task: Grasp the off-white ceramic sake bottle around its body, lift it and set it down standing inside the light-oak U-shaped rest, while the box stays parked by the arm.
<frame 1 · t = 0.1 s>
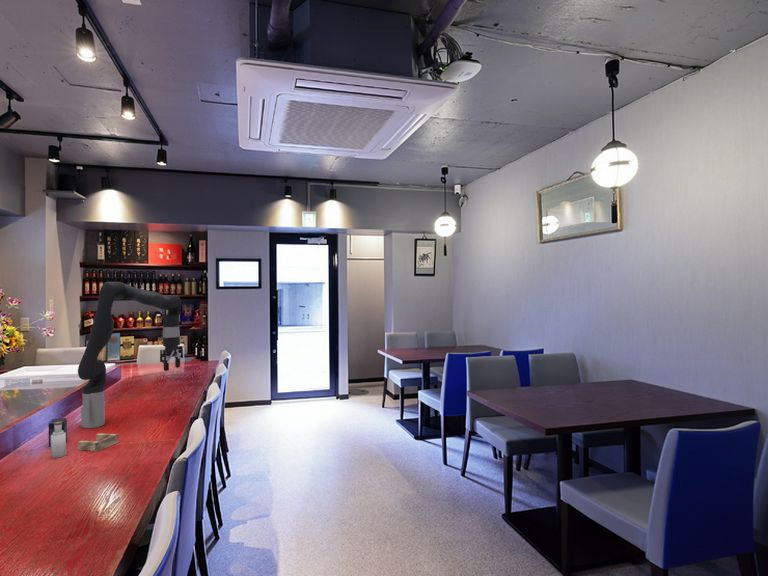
hand: (172, 369, 218), 29 cm above the bar counter, fingers open, 8 cm apart
bottle: (58, 455, 185), on the bar counter
box: (58, 443, 201), on the bar counter
rest: (98, 446, 196), on the bar counter
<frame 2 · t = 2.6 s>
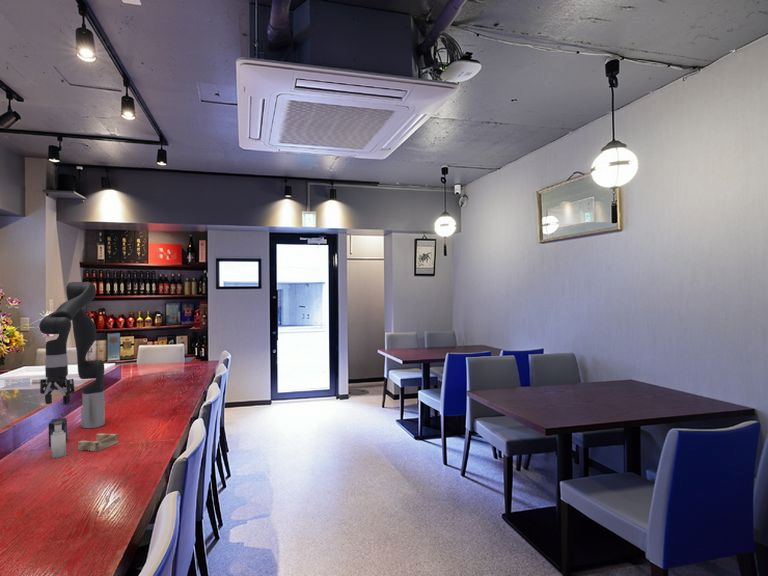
hand: (57, 404, 185), 22 cm above the bar counter, fingers open, 8 cm apart
nothing on the bar counter moved.
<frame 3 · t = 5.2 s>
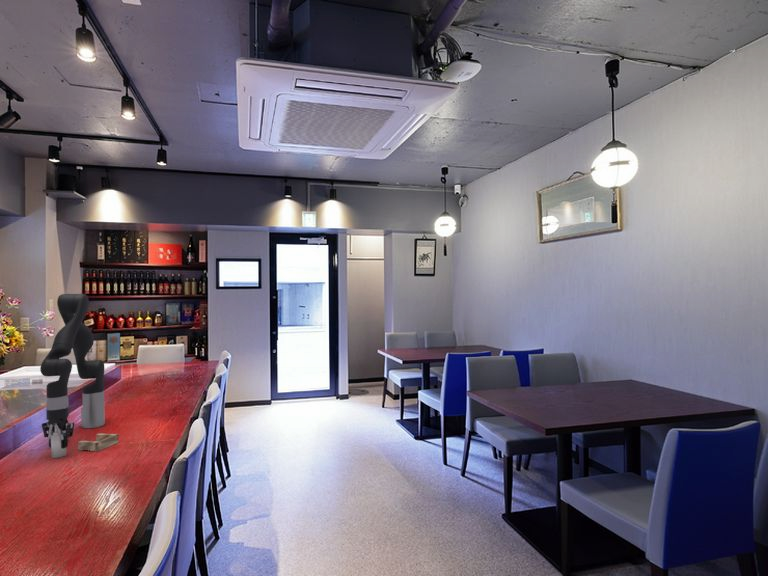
hand: (58, 447, 185), 3 cm above the bar counter, fingers closed on bottle, 5 cm apart
bottle: (58, 455, 185), on the bar counter, touching gripper
everything else where it was.
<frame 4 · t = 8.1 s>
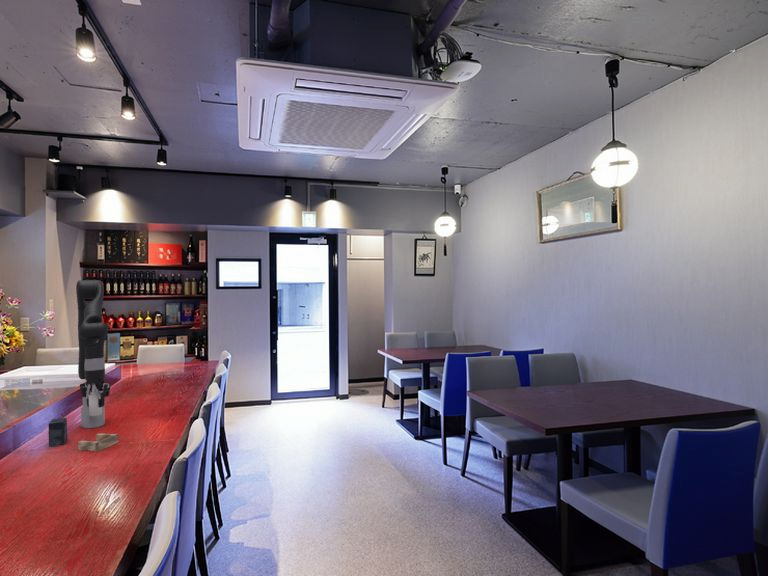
hand: (95, 406, 196), 17 cm above the bar counter, fingers closed on bottle, 5 cm apart
bottle: (95, 414, 196), point 14 cm above the bar counter, touching gripper
everything else where it was.
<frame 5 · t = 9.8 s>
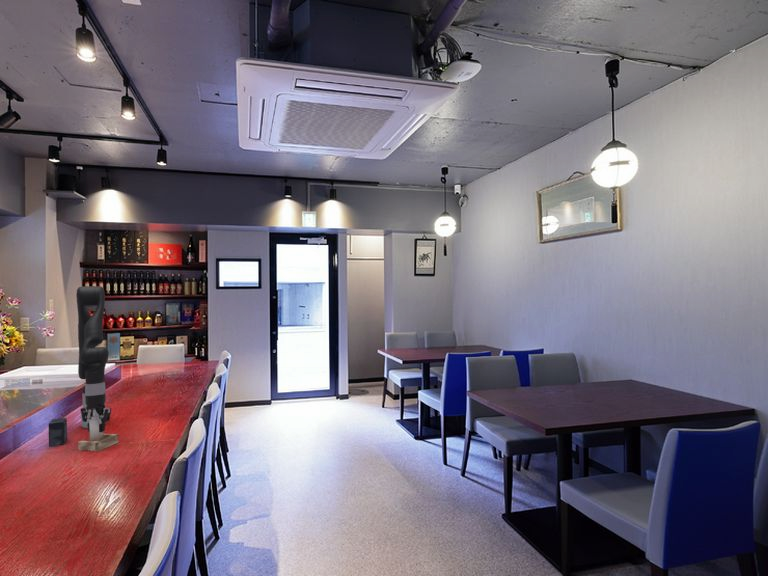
hand: (96, 431, 196), 6 cm above the bar counter, fingers closed on bottle, 5 cm apart
bottle: (96, 439, 196), point 3 cm above the bar counter, touching gripper
everything else where it was.
when the fingers open (6 cm above the bar counter, at t = 10.9 s): bottle drops 1 cm, resting on rest.
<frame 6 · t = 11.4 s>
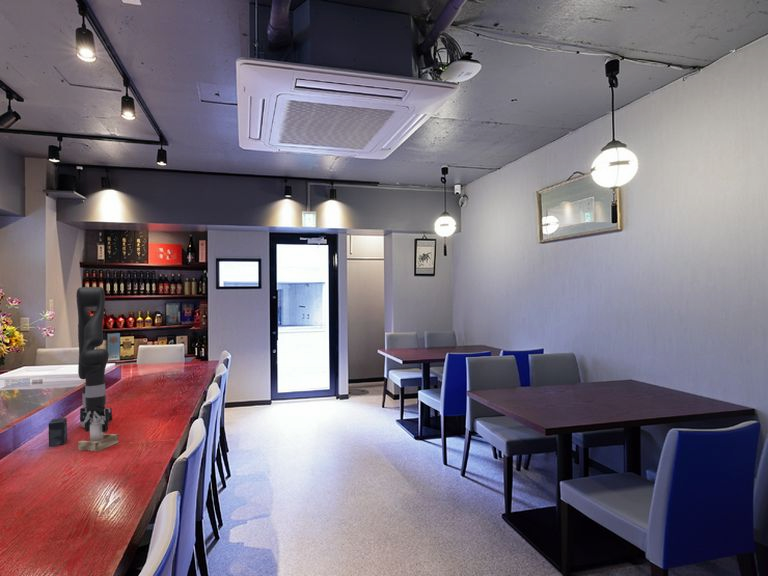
hand: (96, 431, 196), 6 cm above the bar counter, fingers open, 8 cm apart
bottle: (96, 444, 196), point 1 cm above the bar counter, touching rest
everything else where it was.
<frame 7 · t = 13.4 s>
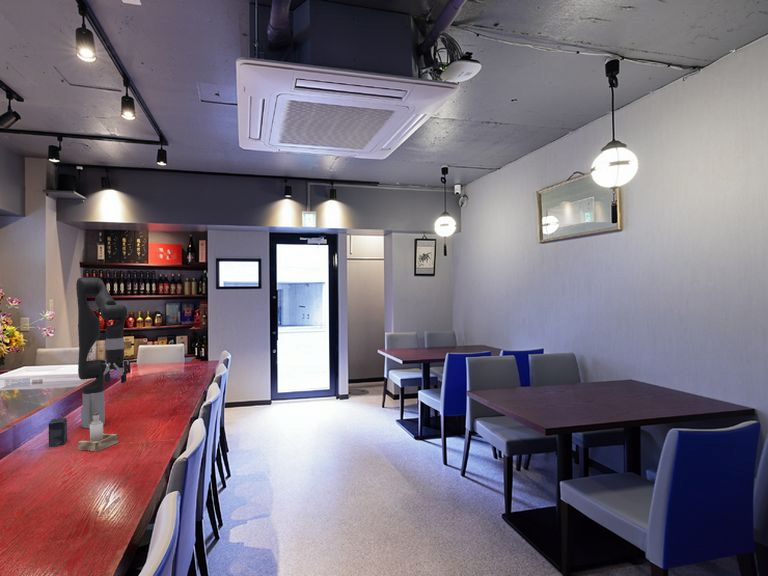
hand: (115, 382, 207), 26 cm above the bar counter, fingers open, 8 cm apart
nothing on the bar counter moved.
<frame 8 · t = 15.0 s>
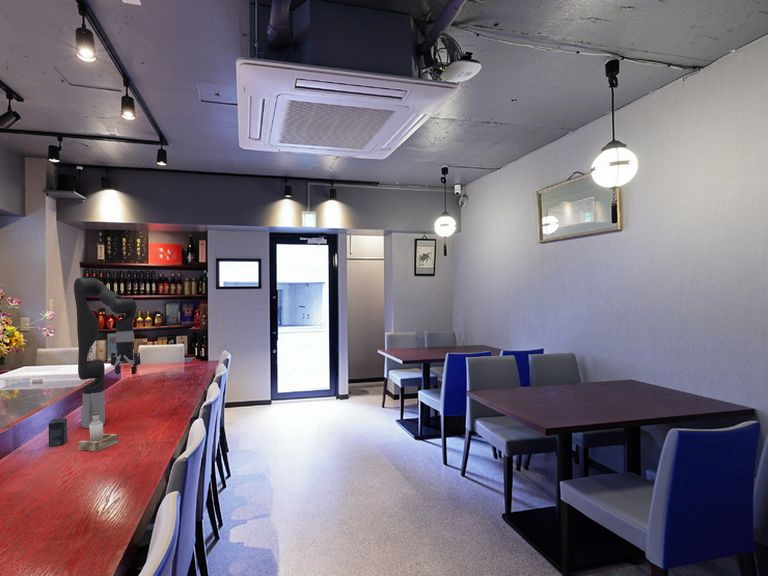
hand: (125, 374, 213), 28 cm above the bar counter, fingers open, 8 cm apart
nothing on the bar counter moved.
at the end: bottle inside the target area on the rest (0.2 cm from its centre), point 0.8 cm above the rest's base; bottle tilted 1°; the gripper is holding nothing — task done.
